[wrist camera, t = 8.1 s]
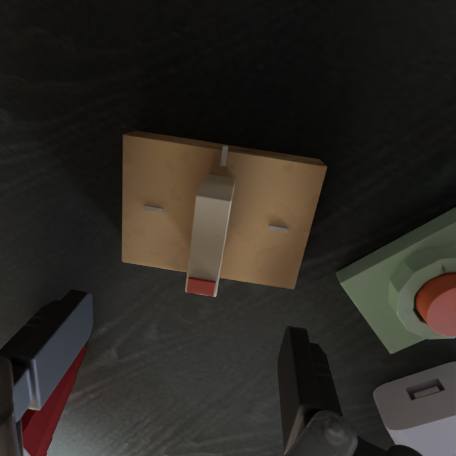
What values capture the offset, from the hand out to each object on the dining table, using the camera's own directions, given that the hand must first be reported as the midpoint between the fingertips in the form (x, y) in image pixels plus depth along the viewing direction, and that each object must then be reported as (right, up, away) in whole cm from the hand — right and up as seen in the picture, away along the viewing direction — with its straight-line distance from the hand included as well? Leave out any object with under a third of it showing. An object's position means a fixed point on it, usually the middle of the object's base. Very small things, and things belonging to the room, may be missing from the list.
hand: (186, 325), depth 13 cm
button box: (+18, 0, +14) cm, 23 cm away
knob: (+1, +5, +11) cm, 12 cm away
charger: (+24, -16, +21) cm, 35 cm away
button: (+18, -1, +11) cm, 21 cm away
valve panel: (+1, +6, +13) cm, 14 cm away
